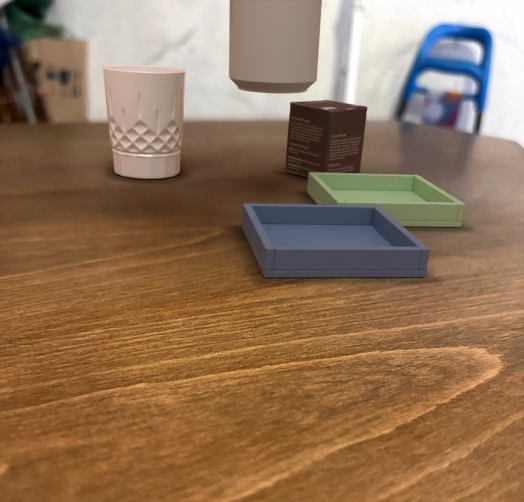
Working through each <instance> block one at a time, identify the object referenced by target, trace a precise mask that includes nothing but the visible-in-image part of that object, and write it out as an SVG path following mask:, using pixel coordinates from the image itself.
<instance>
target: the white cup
mask: <svg viewBox="0 0 524 502" xmlns="http://www.w3.org/2000/svg"><path fill="white" fill-rule="evenodd" d="M102 71H103V82H104V94H105V101H106V102H105V104H106V114H107V116H106V117H107V126H108V132H109V143H110V146H111V147H112V148H111V151H112V164H113V171H114V174H116V175H119V176H121V177H126V178H130V179H141V180H159V179H167V178H168V179H169V178H172V177H175V176H177V175H178V174H180V171H181V150H180V149H181V148H182V144H183V129H184V118H185V117H184V114H185V93H186V92H185V89H186V70H185V69H183V68H180V67H179V68H178V67H170V66H163V65H150V64H149V65H148V64H147V65H146V64H107V65H103V67H102Z"/></svg>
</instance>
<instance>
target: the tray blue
mask: <svg viewBox="0 0 524 502" xmlns="http://www.w3.org/2000/svg"><path fill="white" fill-rule="evenodd" d="M241 214H242V215H241V229H242V231H243V233H244V235H245V238H246V240H247V242H248V244H249V247H250V249H251V252H252V254H253V256H254V258H255V260H256V262H257V265H258V267H259V269H260V271H261V274H262V276H263V278H266V279H267V278H270V279H271V278H285V279H287V278H289V279H290V278H293V279H294V278H301V279H302V278H426V275H427V269H428V264H429V258H430V253H431V249H430V248H429V247H428V246H427V245H426V244H424V243H423V242H422V241H421V240H420V239H418V238H417V237H416V236H415V235H414V234H413V233H411V232H410V231H409V230H408V229H406V228H405V226H402V225H401V224H399V223H398V222H397V221H396V220H395V219H394V218H392V217H391V216H390V215H389V214H388V213H387V212H385V211H384V210H383V209H382V208H381V207H379V206H376V205H373V206H371V205H317V204H308V203H307V204H306V203H305V204H304V203H293V204H292V203H249V202H248V203H246V202H244V203H242V213H241Z"/></svg>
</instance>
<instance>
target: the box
mask: <svg viewBox="0 0 524 502" xmlns="http://www.w3.org/2000/svg"><path fill="white" fill-rule="evenodd" d="M368 108H369V107H368V106H365V105H361V104H360V105H359V104H353V103H349V102H348V103H347V102H342V101H336V100H330V99H323V100H322V99H321V100H307V101H306V100H305V101H303V100H302V101H290V102H289V115H288V127H287V140H286V151H285V152H286V153H285V165H284V170H285V172H286V173H290V174H292V175H298V176H301V177H305V178H308V175H309V172H314V173H315V172H316V173H358V174H361V166H362V159H363V158H362V157H363V149H364V141H365V139H364V138H365V132H366V122H367V113H368Z"/></svg>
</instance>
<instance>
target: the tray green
mask: <svg viewBox="0 0 524 502" xmlns="http://www.w3.org/2000/svg"><path fill="white" fill-rule="evenodd" d="M306 187H307V188H306V193H307V194H308V196H309V197H310V198H311V199H312V200H313V201H314V202H315V205H371V206H373V205H376V206H379V207H381V208H382V209H383V210H384V211H385V212H387V213H388V214H389V215H390V216H391V217H392V218H394V219H395V220H396V221H397V222H398V223H399V224H401V225H402V226H403V227H415V228H416V227H417V228H418V227H420V228H421V227H423V228H424V227H425V228H426V227H427V228H462V226H463V220H464V216H465V209H466V203H464V202H463V201H461V200H459V199H458V198H456V197H455V196H453V195H451V194H449V193H448V192H446V191H445V190H443V189H442V188H440V187H439V186H437V185H435V184H434V183H432V182H430V181H428V180H427V179H425V178H424V177H422V176H420V175H418V174H396V173H394V174H393V173H360V174H358V173H316V172H315V173H314V172H309V175H308V177H307V185H306Z"/></svg>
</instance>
